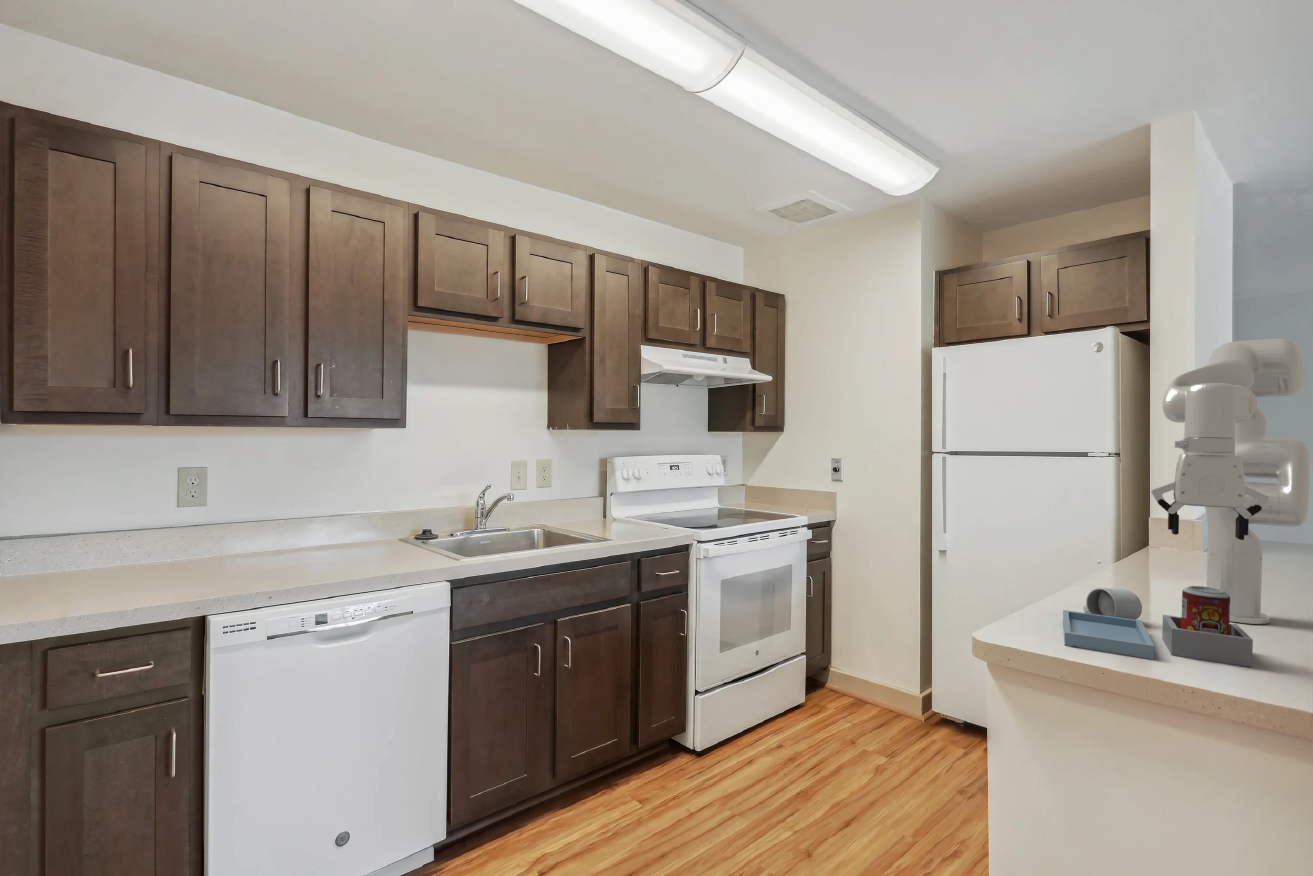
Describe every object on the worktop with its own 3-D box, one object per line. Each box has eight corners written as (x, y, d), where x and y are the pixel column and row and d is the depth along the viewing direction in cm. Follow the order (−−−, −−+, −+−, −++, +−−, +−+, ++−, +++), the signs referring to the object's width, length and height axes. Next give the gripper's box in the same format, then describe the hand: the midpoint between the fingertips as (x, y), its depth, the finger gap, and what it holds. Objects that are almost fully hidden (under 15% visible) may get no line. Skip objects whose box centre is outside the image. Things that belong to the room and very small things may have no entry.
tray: (1062, 621, 144) (1063, 610, 144) (1140, 632, 137) (1140, 620, 137) (1064, 645, 127) (1064, 632, 127) (1153, 659, 120) (1154, 646, 120)
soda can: (1190, 656, 122) (1192, 591, 122) (1174, 644, 129) (1175, 583, 129) (1236, 660, 120) (1238, 595, 120) (1217, 649, 127) (1218, 586, 127)
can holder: (1162, 639, 133) (1162, 614, 132) (1236, 649, 127) (1236, 624, 127) (1171, 654, 123) (1172, 628, 123) (1252, 667, 117) (1252, 639, 117)
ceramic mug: (1145, 625, 142) (1145, 590, 142) (1115, 627, 140) (1116, 592, 140) (1101, 613, 152) (1101, 580, 152) (1073, 615, 150) (1073, 582, 150)
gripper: (1155, 446, 126) (1153, 534, 126) (1275, 449, 117) (1272, 543, 117) (1150, 446, 132) (1148, 529, 132) (1263, 449, 123) (1261, 538, 123)
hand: (1206, 536), depth 124 cm, fingers open, 9 cm apart
